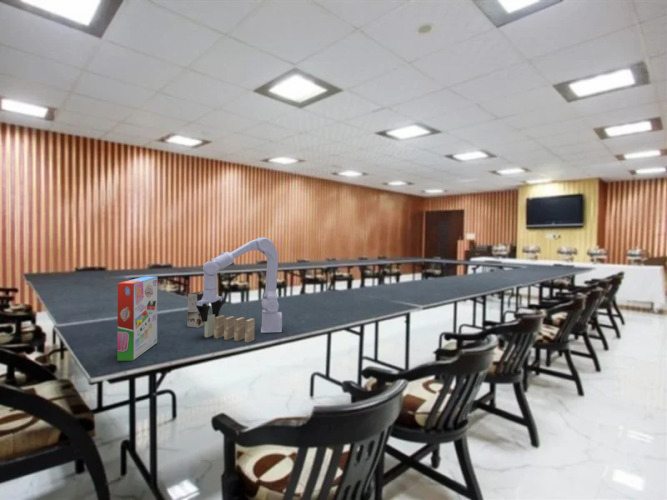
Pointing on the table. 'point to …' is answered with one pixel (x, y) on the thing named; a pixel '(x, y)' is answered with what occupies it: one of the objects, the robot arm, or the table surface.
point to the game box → (136, 317)
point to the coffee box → (194, 310)
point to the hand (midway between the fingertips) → (210, 319)
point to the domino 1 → (209, 326)
